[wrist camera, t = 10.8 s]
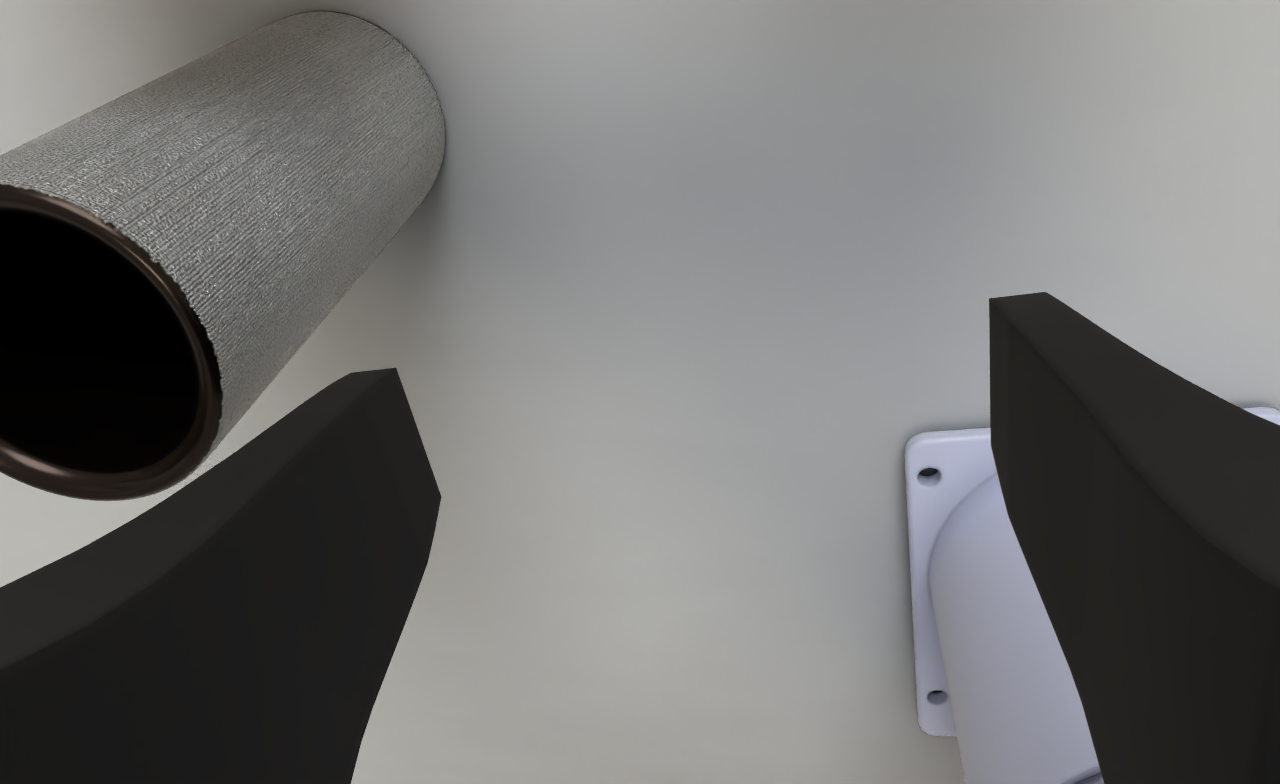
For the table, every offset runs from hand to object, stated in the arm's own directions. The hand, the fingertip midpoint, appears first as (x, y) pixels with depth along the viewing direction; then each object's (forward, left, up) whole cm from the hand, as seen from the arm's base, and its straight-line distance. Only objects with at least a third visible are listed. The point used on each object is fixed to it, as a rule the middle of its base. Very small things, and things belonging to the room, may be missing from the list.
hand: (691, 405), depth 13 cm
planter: (+2, +8, -10) cm, 13 cm away
